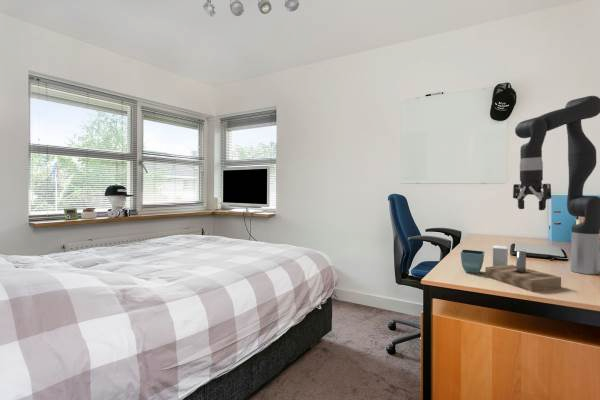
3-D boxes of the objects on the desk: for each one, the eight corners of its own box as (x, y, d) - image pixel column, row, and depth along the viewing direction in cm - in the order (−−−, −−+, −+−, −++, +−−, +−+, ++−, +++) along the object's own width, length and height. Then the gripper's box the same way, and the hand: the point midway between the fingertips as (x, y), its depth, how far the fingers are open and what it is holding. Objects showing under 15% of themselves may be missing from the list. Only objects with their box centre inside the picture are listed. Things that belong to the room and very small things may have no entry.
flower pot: (484, 271, 143) (484, 251, 142) (483, 275, 135) (483, 254, 135) (462, 268, 147) (462, 249, 147) (460, 272, 140) (460, 252, 140)
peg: (520, 280, 127) (520, 250, 127) (527, 282, 124) (527, 252, 124) (514, 281, 127) (514, 251, 126) (521, 283, 124) (521, 252, 123)
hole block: (485, 276, 133) (485, 267, 133) (512, 274, 137) (512, 264, 137) (531, 291, 114) (531, 280, 114) (560, 288, 118) (561, 277, 118)
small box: (507, 273, 139) (507, 248, 139) (492, 271, 142) (492, 247, 142) (507, 269, 146) (507, 246, 146) (492, 267, 149) (493, 245, 149)
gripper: (556, 168, 123) (556, 210, 124) (521, 170, 137) (522, 208, 138) (541, 168, 121) (541, 211, 122) (507, 170, 135) (508, 209, 136)
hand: (531, 209), depth 130 cm, fingers open, 8 cm apart
